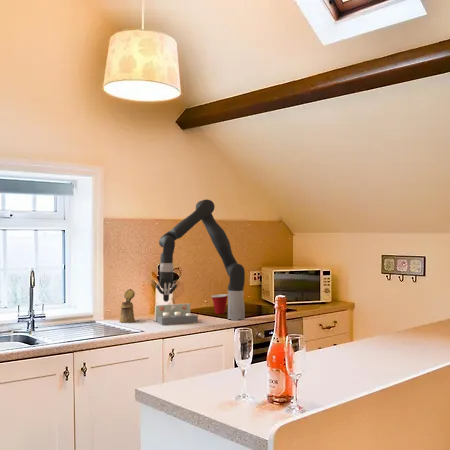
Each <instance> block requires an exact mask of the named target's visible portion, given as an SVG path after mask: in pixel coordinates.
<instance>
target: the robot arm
mask: <svg viewBox="0 0 450 450" xmlns="http://www.w3.org/2000/svg"><path fill="white" fill-rule="evenodd" d="M215 207H216V206H215V203H214V202H213V200H211V199H202V200H199V201H197V203H196V205H195V210H194V211H193V212H192V213H190V214H189V215H188V216H186V217H185V218H184V219H182V220H180V222H178V224H176V225H175V226H174V227H173V228H172V229H171V230H169V231H167V232H166V233H164V234H163V235H162V236H161V237H160V238H159V240H158V244H159V246H160V247H161V248H162V252H161V253H160V260H159V262H160V265H159V281H158V283H157V284H156V285H155V288H156V290H157V291H158V292H159V293H160V294H161V295H162V296H163V302H166V303H167V302H169V300H170V295H171V294H173V293H174V291H175V290H176V288H177V287H178V284H175V282H174V264H173V262H174V257H173V255H174V253H175V247H176V242H175V241H177V240H179V239H181V238H182V237H184V236H185V234H186V233H188V232H189V231H190V230H191V229H192V228H193V227H194V226H195V225H197V224H198V223H199V222H200V221H201V222H202V223H203V225H204V227H205V229H206V231H207V234H208V236H209V237H210V240H211V242H212V244H213V246H214V248H215V250H216V251H217V253H218V255H219V257H220V258H221V260H222V263H223V265H224V268H225V272H226V274H227V276H229V283H228V285H227V294H228V297H227V320H229V319H231V320H230V321H239V320H238V319H242V320H245V317H246V315H245V312H246V311H245V310H246V309H245V308H246V307H245V305H246V304H245V302H244V287H245V280H246V279H245V278H246V277H245V276H246V273H245V268H244V266H243V265H242V264H241V263H238V262H237V260H236V258H235V256H234V254H233V251H232V247H231V242H230V239H229V237H228V236H227V234H226V232H225V230H224V229H223V228H222V227H221V225H219V223H218V222H217V221H216V219H215V218H214V215H213V212H214V211H215Z"/></svg>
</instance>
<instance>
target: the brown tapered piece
mask: <svg viewBox="0 0 450 450" xmlns="http://www.w3.org/2000/svg"><path fill="white" fill-rule="evenodd" d="M135 295H136V293H135V291H134V290H133V289H132V288H130V289H127V290H126V291H125V292H124V296H123V297H124V299H126V301H122V302H121V306H120V315H119V323H124V324H129V323H130V324H131V323H135V322H136V319H135V313H134V304H133V302H131V300H132V299H133V298H135Z"/></svg>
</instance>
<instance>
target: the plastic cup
mask: <svg viewBox="0 0 450 450" xmlns="http://www.w3.org/2000/svg"><path fill="white" fill-rule="evenodd" d="M211 298H212V299H211V300H212V302H213V303H212V304H213V308H214V313H215V314H216V315H225V314H226V307H227V303H228V293H226V294H224V293H223V294H221V293H220V294H214V295H213V294H212V295H211Z"/></svg>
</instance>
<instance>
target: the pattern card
mask: <svg viewBox="0 0 450 450" xmlns="http://www.w3.org/2000/svg"><path fill="white" fill-rule="evenodd" d="M154 307H155V308H154V309H155V310H154V319H153V320H152V322H154V323H157V316H163V313H169V315H175V312H181V314H187V313H191V303H175V304H159V305H157V304H156V305H155V306H154Z"/></svg>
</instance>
